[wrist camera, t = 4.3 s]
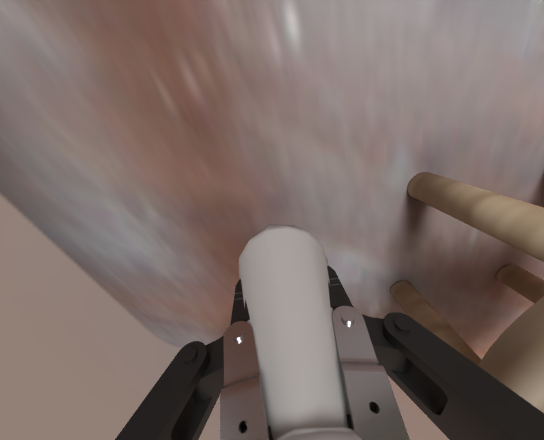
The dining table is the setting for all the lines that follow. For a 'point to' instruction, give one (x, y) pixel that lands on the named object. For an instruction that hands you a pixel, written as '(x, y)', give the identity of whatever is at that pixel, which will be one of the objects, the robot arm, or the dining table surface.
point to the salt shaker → (294, 335)
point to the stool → (518, 233)
